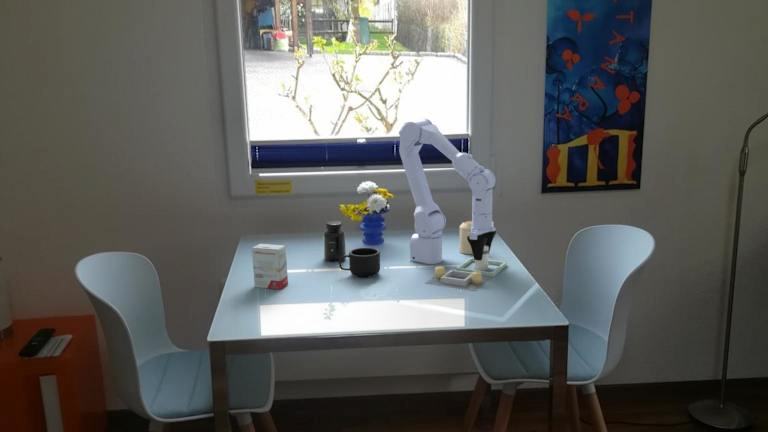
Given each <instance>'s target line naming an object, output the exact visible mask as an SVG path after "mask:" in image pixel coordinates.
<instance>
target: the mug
mask: <svg viewBox="0 0 768 432" xmlns="http://www.w3.org/2000/svg"><path fill="white" fill-rule="evenodd" d="M345 257H346V258H348V259H349V261H348V262H349V263H348V264H349V268H348V267H347V268H346V267H343V266H342V263H343V261H342V260H343V258H345ZM338 264H339V268H340V270H341V271H350V273H351V275H353V276H355V277H357V278H361V277H362V278H363V279H367V278H373V277H374V276H376V275H378V274H379V273H380V270H381V251H380V250H379V249H378V248H373V247H357V248H354V249H351V250H350V251H349V253H348V254H346V255H344V256H342V257H341V259H340V262H338ZM362 278H361V279H362Z"/></svg>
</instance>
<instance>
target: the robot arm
mask: <svg viewBox="0 0 768 432" xmlns="http://www.w3.org/2000/svg"><path fill="white" fill-rule="evenodd" d="M398 134H399V138H400V139H399V156H400V159H401V162H402V166H403V169H404V172H405V175H406V178H407V181H408V185H409V189H410V192H411V194H412V198H413V201H414V204H415V210H414V213H413V218H414V231H415V233H413V234H412V235H411V239H410V243H409V245H410V246H409V252H410V254H409V257H410V258H409V260H410V262H417V263H422V264H427V265H435V264H440V263H441V262H443V229H444V228H445V227H446V224H447V219H446V216H445V215H444V214H443V213H442V211H441V209H440V206H439V205H438V204H437V203H436V202H434V200H433V196H432V193H431V189H430V188H429V187H430V186H429V182H428V180H427V177H426V173H425V170H424V167H423V163H422V160H421V158H420V157H421V156H420V154H419V152H420V151H421V149H422V147H423V145H424V144H426V145H432V146H433V147H435V148H436V149H437V150H438V151H439V152H441V153H442V154H443V155H444V156H445V157H446V158H447V159H449V160H450V161H451V163H452V164H451V165H452V168H453V169H454V170H455V171H456V172H457V173H458V174H459V175H460V176H462V177H463V178H464V179H465V181H467V182H468V186H469V188H470V190H471V193H472V202H471V207H472V209H471V216H472V217H471V222H472V227H471V232H470V235H469V236H468V237H467V240H468V242H469V244H470V246H471V248H472V252H473V254H472V256H473V257H472V258H474V260H479V261H481V260H482V257H483V250H484V246H485V245H486V246H488V247H489V253H488V256H489V254H490V251H491V247H492V244H493V241H494V238H495V236H496V234H497V231H496V229H497V228H496V227H495V226H494V225H495V223H494V221H493V188H494V186H496V182H497V177H496V176H495V173H494V172H493V171H492V170H491V169H485V166H483V165H480V164H479V163H478V162H477V161H476V160H475V159H473V157H474V156H473V154H471V153H467V152H460V151H459V150H458V149H457V147H455V146H454V144H453V143H452V142H451V141H450V140H449V139H448V138H447V137H446V136H445V135H444V134H443V133H442V132H441V131H440V130H439V128H438V126H437V125H436V124H435V123H433V122H432V121H431V120H429V119H428V118H426V117H425V118H420V119H418V120H417V119H416V120H412V121H411V120H409V121H406V122H405V123H403V125H402V127H401V128H400V130H399V131H398Z"/></svg>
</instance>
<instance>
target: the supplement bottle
mask: <svg viewBox="0 0 768 432" xmlns="http://www.w3.org/2000/svg"><path fill="white" fill-rule="evenodd" d="M325 229H326V230H325V231H324V232H323V235H322V236H323V258H324V261H326V262H329V263H340V259H341V257H342V256H344V255H347V251H346V245H347V244H346V232H345V231H344V230H343V226H342V222H341V221H339V220H330V221H326V223H325ZM346 258H347V257H345V258H343V260H342V262H344V261H345V260H346Z"/></svg>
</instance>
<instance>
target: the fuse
mask: <svg viewBox="0 0 768 432" xmlns="http://www.w3.org/2000/svg"><path fill="white" fill-rule="evenodd" d="M488 253H489V254H490V252H489V247H488V246H486V245H485V246H484V250H483V257H482V260H481V261H479V260H475V262H474V270H479V271H487V270H489V264H488V260H489V255H488Z"/></svg>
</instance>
